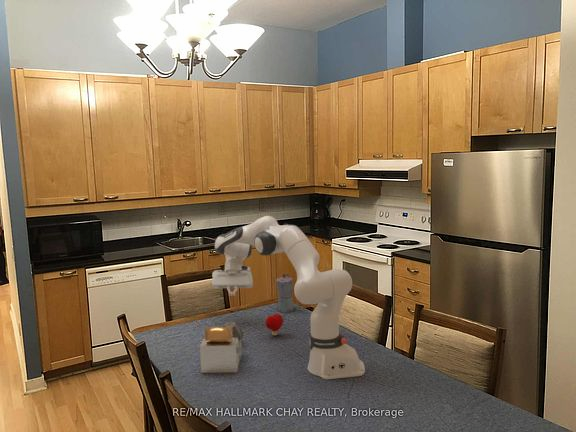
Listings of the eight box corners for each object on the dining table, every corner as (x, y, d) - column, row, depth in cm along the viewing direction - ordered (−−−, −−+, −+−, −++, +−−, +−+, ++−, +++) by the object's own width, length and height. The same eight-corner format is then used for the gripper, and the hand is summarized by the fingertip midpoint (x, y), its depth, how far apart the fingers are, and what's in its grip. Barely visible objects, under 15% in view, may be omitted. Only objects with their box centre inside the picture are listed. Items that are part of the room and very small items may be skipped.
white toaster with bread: (242, 354, 209) (240, 315, 207) (237, 372, 192) (235, 330, 190) (208, 354, 209) (206, 316, 207) (200, 372, 193) (198, 331, 190)
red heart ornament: (271, 340, 223) (271, 319, 221) (262, 336, 228) (261, 315, 227) (287, 335, 229) (286, 314, 227) (277, 331, 234) (276, 311, 233)
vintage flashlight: (230, 337, 227) (229, 317, 224) (244, 342, 223) (243, 321, 220) (213, 349, 217) (212, 328, 214) (227, 354, 213) (226, 333, 210)
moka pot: (274, 314, 258) (273, 277, 255) (279, 304, 273) (278, 270, 270) (292, 314, 256) (291, 277, 254) (296, 305, 272) (295, 270, 269)
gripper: (211, 267, 243) (209, 292, 235) (253, 267, 243) (252, 292, 235) (213, 273, 248) (211, 298, 240) (253, 273, 248) (252, 298, 240)
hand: (231, 295), depth 238 cm, fingers closed
